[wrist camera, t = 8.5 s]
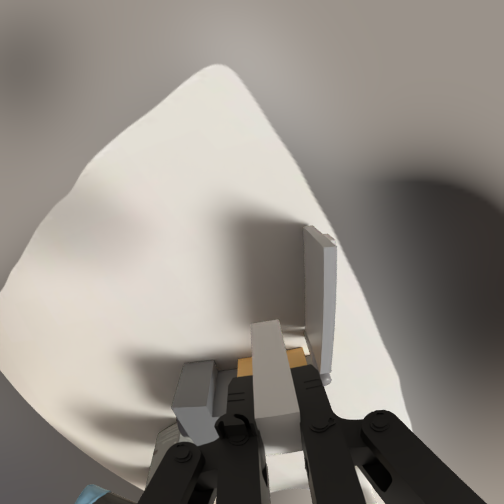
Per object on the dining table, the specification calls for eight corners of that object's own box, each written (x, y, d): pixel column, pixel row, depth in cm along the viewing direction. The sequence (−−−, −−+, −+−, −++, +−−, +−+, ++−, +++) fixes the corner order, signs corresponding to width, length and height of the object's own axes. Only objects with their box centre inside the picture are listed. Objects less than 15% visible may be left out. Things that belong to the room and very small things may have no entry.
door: (320, 327, 30) (338, 371, 22) (305, 329, 30) (320, 374, 22) (320, 224, 27) (346, 245, 19) (302, 226, 27) (323, 247, 19)
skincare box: (182, 417, 35) (163, 501, 20) (217, 436, 37) (210, 516, 22) (155, 433, 37) (135, 505, 22) (188, 450, 38) (176, 520, 23)
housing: (197, 412, 35) (189, 457, 26) (167, 351, 31) (148, 400, 23) (319, 394, 34) (333, 441, 25) (313, 328, 31) (331, 377, 22)
